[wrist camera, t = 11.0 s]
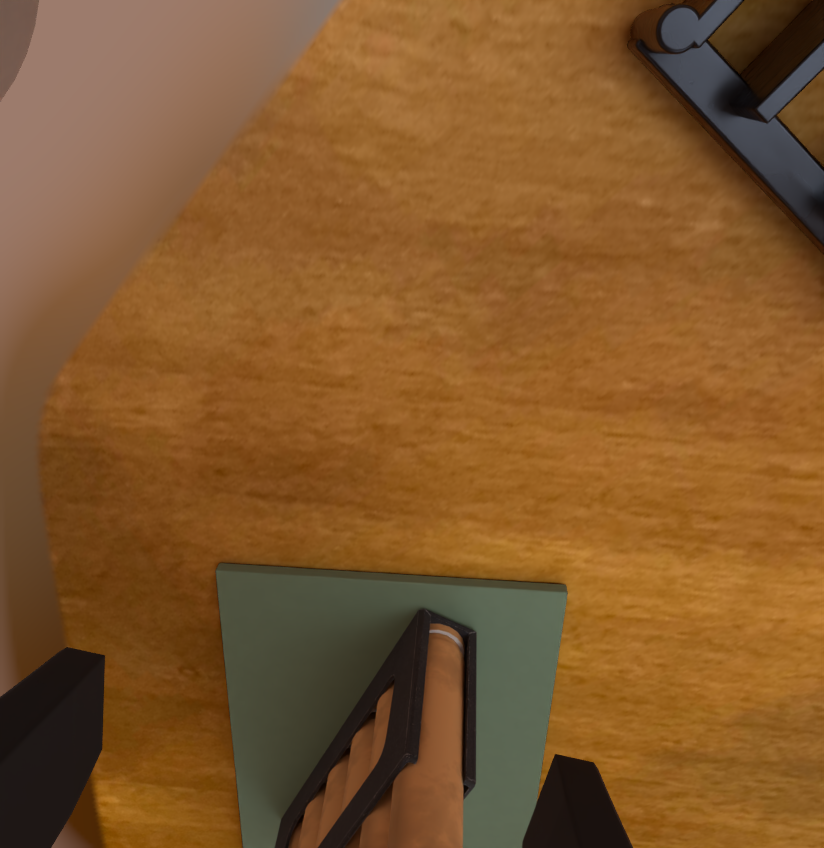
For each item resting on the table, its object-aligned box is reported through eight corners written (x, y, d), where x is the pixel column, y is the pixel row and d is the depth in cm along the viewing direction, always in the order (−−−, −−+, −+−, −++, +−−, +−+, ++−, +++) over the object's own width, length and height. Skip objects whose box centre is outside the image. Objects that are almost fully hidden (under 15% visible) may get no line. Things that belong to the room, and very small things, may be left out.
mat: (218, 562, 22) (215, 570, 22) (566, 584, 22) (567, 592, 22) (249, 873, 29) (245, 883, 28) (520, 894, 28) (521, 905, 28)
